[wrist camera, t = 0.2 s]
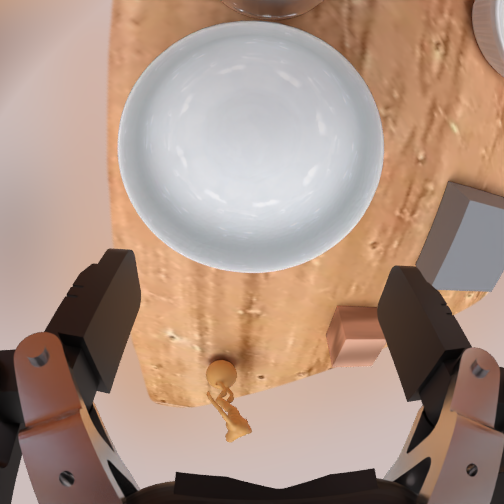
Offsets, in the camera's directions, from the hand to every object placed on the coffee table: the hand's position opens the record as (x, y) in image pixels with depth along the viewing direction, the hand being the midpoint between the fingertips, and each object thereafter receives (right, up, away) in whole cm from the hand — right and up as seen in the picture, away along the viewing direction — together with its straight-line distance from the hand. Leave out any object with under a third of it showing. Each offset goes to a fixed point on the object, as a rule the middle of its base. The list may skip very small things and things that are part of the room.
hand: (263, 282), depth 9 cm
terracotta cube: (+11, -7, +27) cm, 30 cm away
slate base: (+23, +3, +19) cm, 30 cm away
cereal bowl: (-1, +10, +14) cm, 18 cm away
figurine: (-3, -13, +31) cm, 34 cm away
